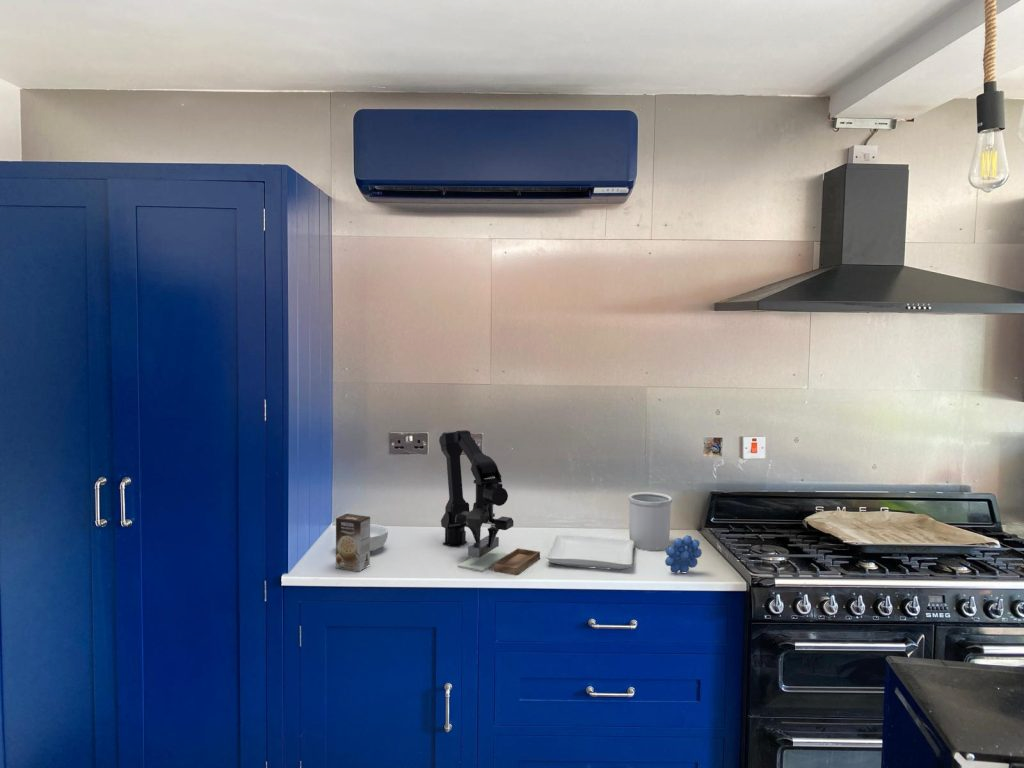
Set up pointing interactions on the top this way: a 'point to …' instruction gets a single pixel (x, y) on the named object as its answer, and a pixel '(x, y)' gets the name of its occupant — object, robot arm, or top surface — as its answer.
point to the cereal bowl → (377, 536)
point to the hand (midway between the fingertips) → (483, 546)
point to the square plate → (591, 552)
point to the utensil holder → (649, 520)
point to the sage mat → (483, 561)
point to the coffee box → (352, 542)
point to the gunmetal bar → (482, 547)
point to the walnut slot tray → (516, 561)
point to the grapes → (683, 554)
